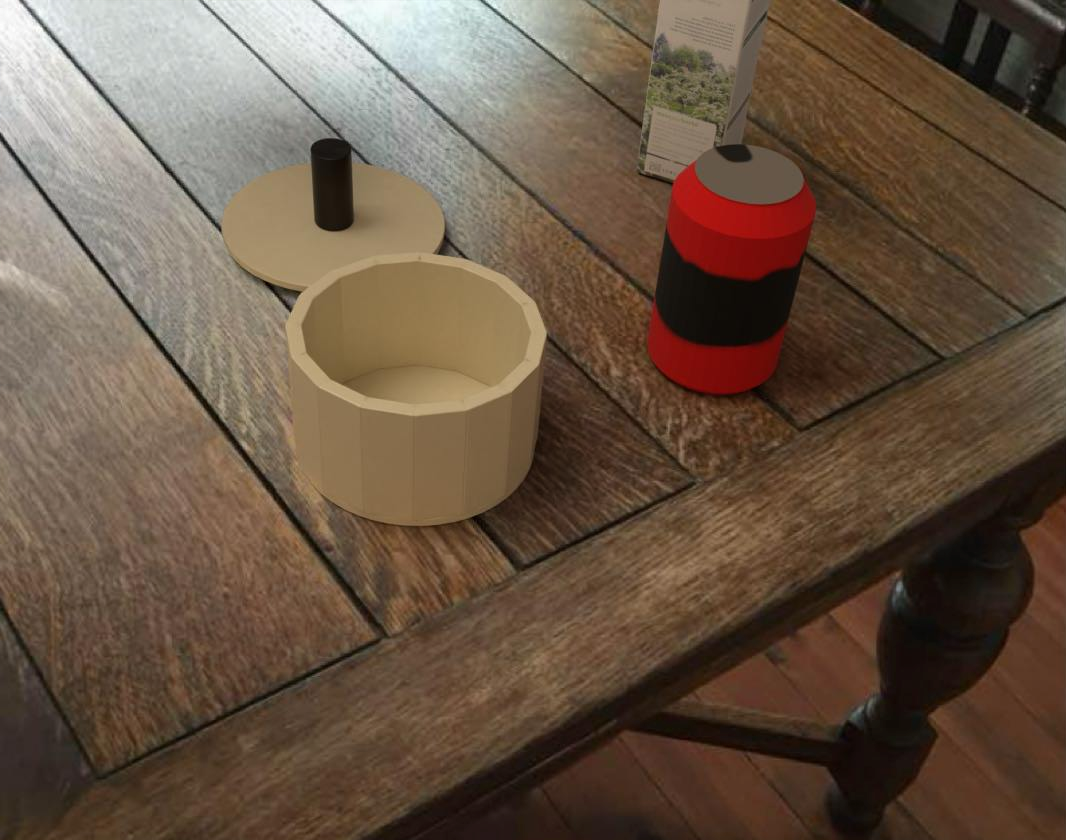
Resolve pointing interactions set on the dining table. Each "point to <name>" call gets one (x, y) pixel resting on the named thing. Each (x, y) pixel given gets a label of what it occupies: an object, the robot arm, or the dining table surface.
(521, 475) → the pot
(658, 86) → the syrup box
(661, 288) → the soda can
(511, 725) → the dining table surface
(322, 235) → the lid
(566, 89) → the dining table surface
